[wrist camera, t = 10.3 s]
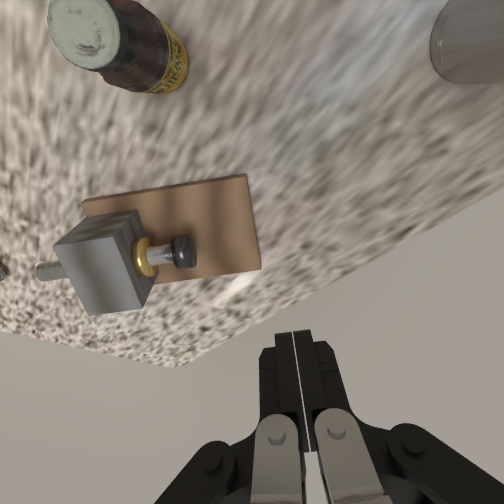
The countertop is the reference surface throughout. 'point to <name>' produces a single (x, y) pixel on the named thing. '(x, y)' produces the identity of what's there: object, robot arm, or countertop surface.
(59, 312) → the countertop surface
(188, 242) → the shaft
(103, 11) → the sauce bottle
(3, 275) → the salad plate
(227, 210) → the bearing block
